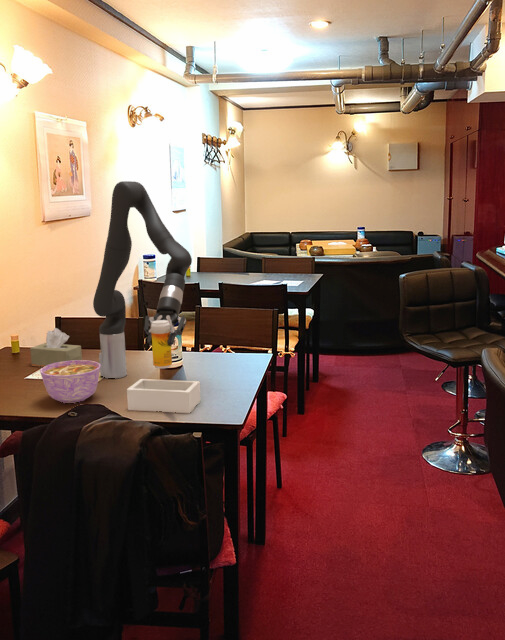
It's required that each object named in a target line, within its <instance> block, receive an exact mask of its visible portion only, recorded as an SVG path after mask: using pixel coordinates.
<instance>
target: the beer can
mask: <svg viewBox="0 0 505 640" xmlns="http://www.w3.org/2000/svg"><path fill="white" fill-rule="evenodd" d="M150 329H151V334H152V346H151V349H152V363H153V366H154V368H156V369H158V370H159V369H168V368H170V367H171V366H172V364H173V358H172V346H169V345H168V339H169V335H170V333H171V331H170V324H169V321H167V320H157V321H155V320H154V321H153V322H152V324H151V327H150Z"/></svg>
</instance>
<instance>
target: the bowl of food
mask: <svg viewBox="0 0 505 640" xmlns="http://www.w3.org/2000/svg"><path fill="white" fill-rule="evenodd" d="M100 367H101V365H100V362H98V361H94V360H86V359H82V360H72V361H63V362H58V363H53V364H50V365H47V366H45V367H43V368H42V367H40V370H39V373H40V376H41V378H42V382H43V384H44V386H45V387H44V388H45V389H46V392H47V394H48V395H49V397H50V398H51V399H53V400H55V401H58V402H61V403H62V402H63V403H62V404H65V403H74V404H76V403H75V402H79V403H81V402H80V401H82V402H84V401H85V400H86V399H89V398H90V397H91V396H92V395H94V394H95V392H96V391H97V386H98V384H99V379H100Z"/></svg>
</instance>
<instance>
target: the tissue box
mask: <svg viewBox="0 0 505 640" xmlns="http://www.w3.org/2000/svg"><path fill="white" fill-rule="evenodd" d="M69 338H70V335H67V334H66V333H65V332H62V330H60V329H59V328H57V327H54V328H53V330H47V333H46V339H45V341H46V342H44V343H40V344H39V345H35V346H32V347H30V349H29V350H30V362H31V365H32V364H36V365H45V366H47V365H50V364H53V363H58V362H63V361H72V360H83V354H82V346H81V345H78V344H77V345H76V344H67V343H66V342H68V339H69ZM65 343H66V344H65Z"/></svg>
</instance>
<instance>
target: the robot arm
mask: <svg viewBox="0 0 505 640" xmlns="http://www.w3.org/2000/svg"><path fill="white" fill-rule="evenodd" d="M131 208H134V209H136V211H138V213H139V214H140V215H141V216H142V219H143V220H144V224H145V229H146V233H147V235H148V238H149V239H150V241H151V243H152V244H153V245H154V247H155V248H156V250H157V251H158V252H159V253H160V254H161V255H168V256H169V257H170V259H169V261H168V262H167V266H166V269H165V270H166V271H165V279H164V282H163V287H162V290H161V292H160V296H159V300H158V303H157V307H156V311H155V312H156V313H155V315H153V316H149V315H145V319H144V320H145V321H144V328H143V330H144V331H145V334H146V335H148V336H147V340H146V341H147V344H149V346H151V347H152V334H151V324H152V322H153V321H157V320H167V321H169V324H170V335H169V339H168V345H169V346H171V347H172V346H173V345H174V344H175V340H176V337H177V336H182V335H183V332H184V330H185V328H186V324H187V319H186V317H185V316H184V315H183V316H181V317H180V316H179V315H180V311H181V308H182V307H181V306H182V304H183V297H184V296H183V295H184V290H185V286H186V279H185V278H186V277H185V276H186V273H187V272H188V270H189V268H190V267H191V265H192V262H193V258H192V256H191V253H190V251H188V249H186V248H185V247H184V246H183V245H181V244H180V243H179V242H178V241H177V240H175V238H174V236H173V235H172V234H171V232H170V231H169V230H168V228H167V227H166V225H165V223H164V222H163V221H162V219H161V217H160V216H159V213H158V212H157V209H156V207H155V206H154V204H153V202H152V200H151V198H150V195H149V193H148V192H147V190H146V188H145V186H144V185H143V183H140V182H138V181H131V180H130V181H127V180H126V181H125V180H124V181H119V182H117V183H116V184H115V185H114V188H113V190H112V196H111V207H110V218H109V226H108V232H107V238H106V242H105V246H104V247H105V248H104V253H103V259H102V260H103V261H102V265H101V270H100V275H99V279H98V283H97V286H96V290H95V291H94V293H95V294H94V297H93V302H92V303H93V305H92V307H93V311H94V313H95V314H96V315H97V316H99V317H102V318H104V317H105V319H104V321H103V322H102V323H100V325H99V328H98V329H99V331H98V333H99V342H100V352H99V353H98V359H99V360H98V361H99V362H98V363H99V364H100V365H101V367H100V373H99V377H100V376H103V377H102V378H104V377H105V378H104V379H108V378H115V379H120V378H124V377H126V376H127V375H128V373H127V372H128V371H127V359H126V357H127V355H126V354H127V353H126V341H125V340H126V339H125V327H126V324H127V323H126V322H127V321H126V320H127V319H126V309H127V308H126V307H127V306H126V299H125V297H124V295H123V293H122V292H121V291H119V289H118V290H117V289H116V288H117V287H116V286H117V284H118V281H119V279H120V277H122V274H123V273H124V272H125V269H126V268H127V266H128V264H129V261H130V257H131V253H132V246H133V243H132V242H133V241H132V237H131V233H130V231H129V225H128V220H129V214H130V211H131ZM176 324H177V328H176V329H175V325H176Z"/></svg>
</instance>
